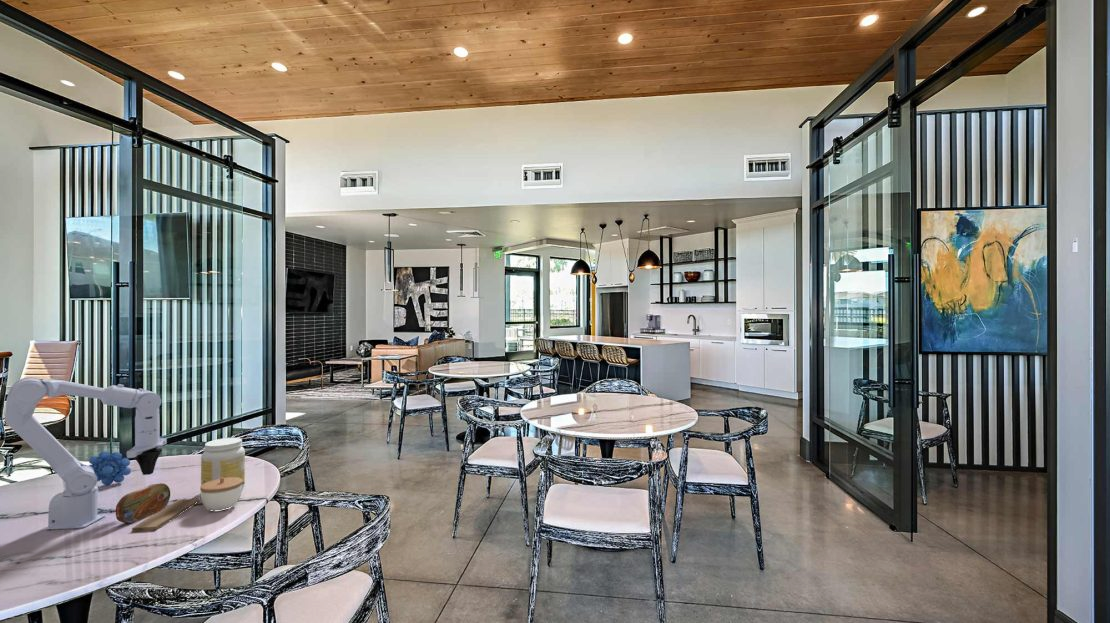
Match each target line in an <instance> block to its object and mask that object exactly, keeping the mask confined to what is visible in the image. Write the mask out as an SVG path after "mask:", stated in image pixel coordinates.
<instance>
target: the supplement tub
mask: <svg viewBox="0 0 1110 623" xmlns="http://www.w3.org/2000/svg"><path fill="white" fill-rule="evenodd" d="M203 449H204V452H203V453H202V454H201V457H200V469H201V470H200V486H201V485H203V484H204V483H206V482H209V481H212V480H216V479H220V478H222V477H224V478H229V477H236V478H241V479H242V480H243V483H242V489H244V487H245V484H246V482H245V481H246V480H245V478H246V477H245V476H246V472H245V471H246V470H245V469H246V463H245V462H246V450H245V448H244V447H243V438H239V437H225V438H218V439H214V440H211V441H207V442H205V444H204V448H203Z"/></svg>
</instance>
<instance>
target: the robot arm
mask: <svg viewBox="0 0 1110 623" xmlns="http://www.w3.org/2000/svg"><path fill="white" fill-rule="evenodd" d="M46 395H47V396H48V399H49V398H54V397H57V396H61V395H67V396H75V397H82V398H88V399H89V398H90V399H98V400H100V401H101V402H102V404H103V405H106V406H114V407H118V408H119V407H120V408H125V409H133V408H135V415H134V416H135V417H134V440H135V441H134V444H135V445H134V446H133V447H132V448H131V449H128V450H127V451H126V458H127V459H130V458H131V459H132V458H133V459H135V461H136V463H138V465H139V467H140V468H139V469H140V471H141V474H142V476H147V475H152V474H153V473H154V471H155V467H156V464H157V461H158V458H159V457H160V455H161V453H162V452H163V448H159V447H162V446H164V445H167V443H168V442H167V441H168V440H167V437H161V436H160V429H161V428H160V412H159V411H160V409H159V407H160V406H162V399H161V396H159V395H158V394H157V393H156V392H153V391H152V390H151V391H150V390H148V389H143V388H138V389H137V388H131V387H125V385H124V384H120V383H118V384H117V385H114V384H112V385H109V386H108V387H107V386H106V387H105V388H103V387H100V386H93V385H89V384H83V383H77V382H72V381H67V380H63V379H56V378H54V379H53V378H42V379H41V378H38V377H32V376H29V377H24V378H20V379H19V380H17V381H16V382H14V384H13V385H12V387H11V388H10V390H9V392H8V394H7V397H6V403H5V405H6V406H5V412H4V413H5V414H4V422H5V423H6V425H8V427H9V428H10V429H12V430H13V431H14V432H15V433H16V435H18V436H19V437H20V438H21V439H22V440H23V441H24V442H25V443H26V444H27V445H28V446H29V447H30V448H31V449H32V450H33V451H34V452H35V453H36V454H38V456H40V457H41V458H42V459H43V460H44V461H45V462H46V463H47V464H48V465H49V466H50V467H51V468H52V469H53V470H54V471H55V473H57V475H58V476H59V477H60V478H61V480H63V482H64V484H65V485H64V486H65V489H64V490H63V491H61V492H59V493H57V494H55V495H54V496H52V498H51V499H50V501H49V504H48V518H47V520H48V521H47V523H48V524H47V525H48V526H47V527H45V530H46V531H47V530H49V529H51V530H65V529H66V530H67V529H83V528H86V527H88V526H89V525H92V524H93V523H96V522H97V521H99V520H101V519H103V518H105V517H106V514H105V513H104V514H98V506H99V505H98V504H99V503H98V502H99V501H98V500H99V498H98V496H99V495H98V494H99V492H98V491H99V487H98V486H97V483H98V482H97V476H96V475H95V472H94V469H93V468H92V467H91V466H88V465H89V464H88V465H87V464H84V463H82V462H81V461H80V460H79V459H78V458H76V457H75V456H74V455H73V454H72V453H71V452H70V451H68V449H66V448H65V446H63V444H62V443H61V442H59V440H58V439H56V437H55V436H54V435H53V434H52V433H51V432H50V431H49V430H48V429H47V428H46V427H45V426H44V425H43V424H41V422H40V421H39V420H38V419H37V418H36V417H35V416H33V415H34V412H35V410H36V409H37V405H38V404H39V403H40V402H42V400H43V399H44V398H45V396H46Z"/></svg>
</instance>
